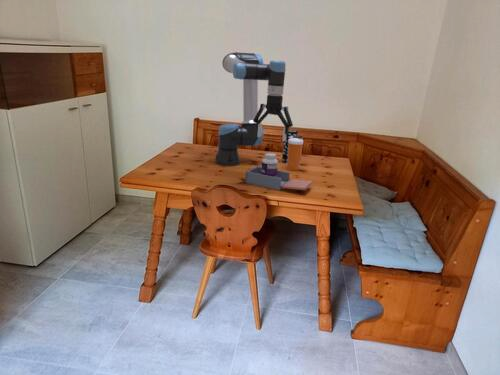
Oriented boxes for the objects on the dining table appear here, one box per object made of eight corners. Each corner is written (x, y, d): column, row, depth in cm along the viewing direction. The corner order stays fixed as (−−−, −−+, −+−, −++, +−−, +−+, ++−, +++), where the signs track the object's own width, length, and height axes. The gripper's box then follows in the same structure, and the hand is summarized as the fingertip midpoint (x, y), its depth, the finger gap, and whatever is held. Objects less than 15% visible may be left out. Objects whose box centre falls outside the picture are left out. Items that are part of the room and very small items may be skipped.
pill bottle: (259, 178, 183) (261, 152, 179) (274, 179, 184) (277, 152, 179) (261, 183, 176) (263, 156, 171) (277, 184, 177) (279, 156, 172)
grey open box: (245, 182, 179) (245, 171, 177) (256, 176, 190) (257, 166, 188) (279, 190, 171) (280, 178, 169) (288, 183, 182) (290, 172, 180)
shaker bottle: (300, 171, 204) (303, 137, 198) (284, 169, 206) (288, 136, 199) (300, 167, 213) (304, 135, 206) (286, 165, 214) (289, 133, 207)
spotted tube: (296, 161, 226) (299, 130, 219) (293, 164, 219) (296, 132, 212) (283, 159, 228) (286, 129, 222) (280, 162, 221) (283, 131, 214)
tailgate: (280, 185, 170) (304, 188, 164) (290, 178, 181) (313, 180, 176) (280, 187, 170) (304, 190, 165) (290, 180, 182) (313, 182, 176)
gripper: (248, 92, 169) (245, 136, 176) (296, 98, 158) (292, 143, 166) (255, 92, 175) (252, 133, 182) (302, 97, 165) (297, 141, 172)
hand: (271, 138), depth 174 cm, fingers open, 13 cm apart
